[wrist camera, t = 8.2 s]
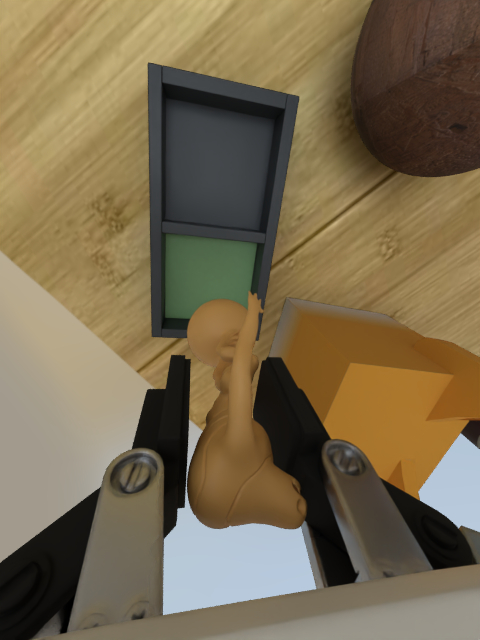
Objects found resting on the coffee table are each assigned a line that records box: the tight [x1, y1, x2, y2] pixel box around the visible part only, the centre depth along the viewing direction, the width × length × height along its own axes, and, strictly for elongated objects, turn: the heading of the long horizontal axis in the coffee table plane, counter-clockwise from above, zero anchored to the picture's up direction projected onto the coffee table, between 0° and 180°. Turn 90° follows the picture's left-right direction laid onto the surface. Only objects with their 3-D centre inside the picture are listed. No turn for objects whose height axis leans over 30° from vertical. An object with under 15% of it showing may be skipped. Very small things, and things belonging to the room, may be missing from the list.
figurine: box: [187, 291, 307, 529], centre depth 11 cm, size 8×6×12 cm
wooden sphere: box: [351, 0, 480, 177], centre depth 18 cm, size 15×15×15 cm
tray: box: [148, 63, 299, 341], centre depth 25 cm, size 12×22×4 cm, turn 173°
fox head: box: [268, 297, 480, 500], centre depth 27 cm, size 18×21×20 cm
